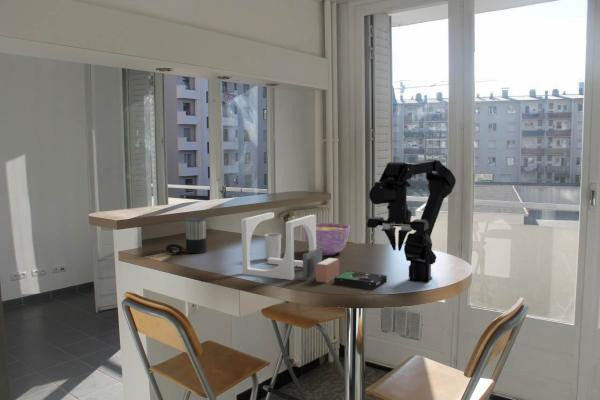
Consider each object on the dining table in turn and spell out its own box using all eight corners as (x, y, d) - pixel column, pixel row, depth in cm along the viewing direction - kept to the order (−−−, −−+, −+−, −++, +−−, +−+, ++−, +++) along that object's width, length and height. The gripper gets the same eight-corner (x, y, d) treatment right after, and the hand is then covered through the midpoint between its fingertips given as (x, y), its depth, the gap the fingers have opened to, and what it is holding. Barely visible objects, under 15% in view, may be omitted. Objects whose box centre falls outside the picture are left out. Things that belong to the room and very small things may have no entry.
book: (339, 276, 179) (338, 258, 178) (326, 283, 170) (326, 264, 170) (328, 274, 181) (328, 257, 180) (316, 281, 172) (316, 263, 171)
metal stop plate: (322, 273, 183) (322, 248, 182) (307, 280, 173) (306, 254, 172) (313, 271, 185) (313, 247, 184) (297, 279, 174) (297, 253, 173)
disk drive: (387, 283, 170) (347, 277, 178) (387, 275, 170) (347, 269, 178) (374, 291, 162) (333, 284, 169) (375, 282, 161) (333, 276, 169)
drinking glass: (275, 256, 212) (274, 232, 210) (284, 259, 206) (284, 234, 205) (261, 258, 207) (261, 234, 206) (271, 261, 202) (270, 236, 201)
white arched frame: (242, 274, 183) (241, 219, 181) (270, 262, 201) (269, 212, 199) (291, 280, 174) (290, 222, 172) (316, 267, 192) (315, 214, 190)
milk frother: (211, 251, 223) (210, 218, 222) (182, 257, 211) (180, 222, 210) (191, 247, 232) (189, 215, 231) (161, 253, 220) (160, 219, 219)
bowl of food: (359, 252, 217) (359, 225, 216) (330, 260, 202) (330, 232, 201) (323, 246, 230) (323, 221, 229) (293, 254, 216) (293, 227, 214)
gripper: (433, 200, 164) (432, 248, 165) (377, 198, 172) (377, 243, 174) (424, 204, 154) (423, 254, 156) (366, 201, 163) (366, 249, 164)
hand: (397, 250), depth 163 cm, fingers closed
